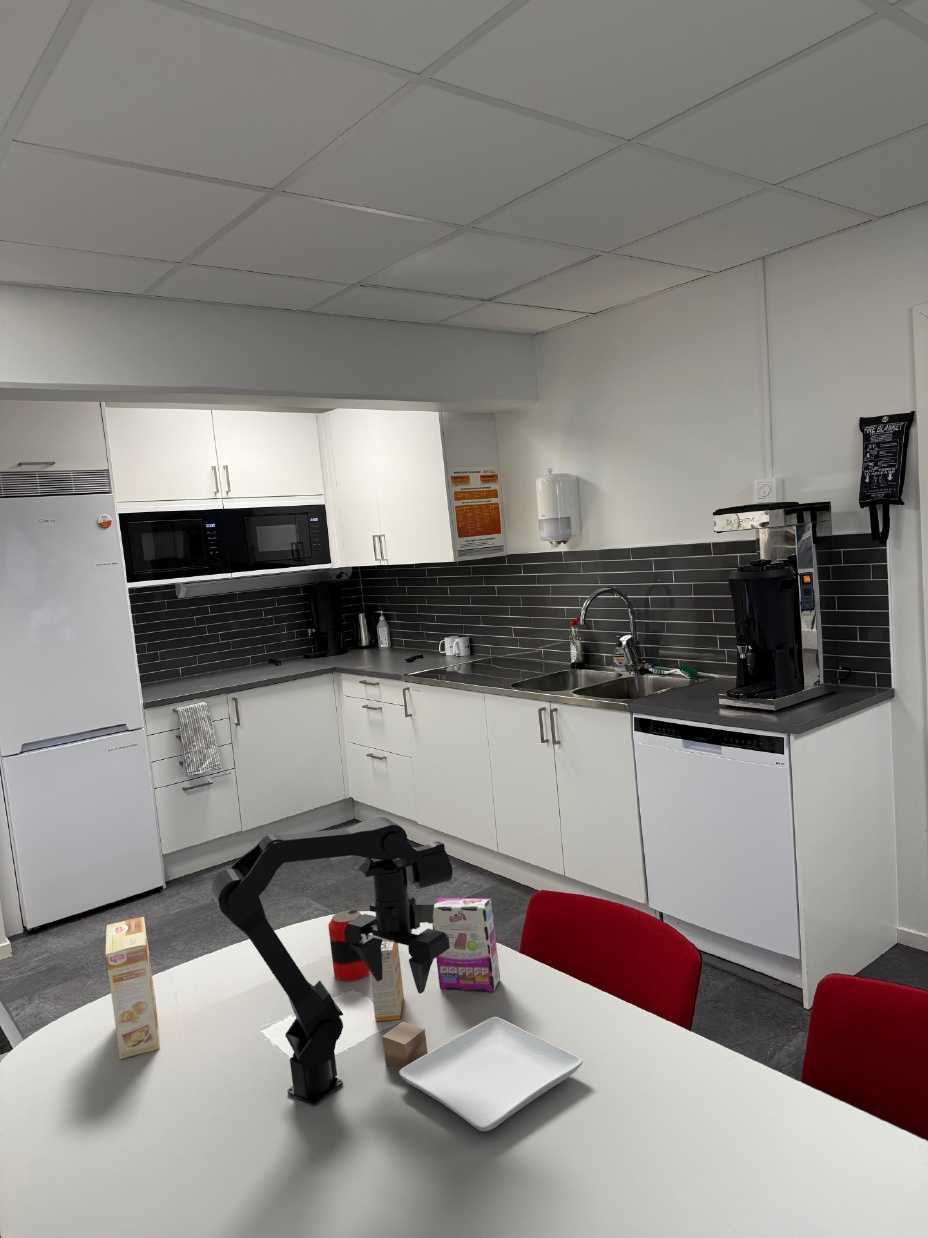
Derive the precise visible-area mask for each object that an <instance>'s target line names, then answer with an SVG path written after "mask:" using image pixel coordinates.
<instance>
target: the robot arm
mask: <svg viewBox="0 0 928 1238" xmlns="http://www.w3.org/2000/svg"><path fill="white" fill-rule="evenodd" d="M349 856H353V857H361V858H366V859H365V861H364V862H363V863H362V864H361V865H360V866H359V867H358V871H359V872H360V873H361V874H362V875H363V876H364V877H365V878H369V877H371V878H372V879H371V881H372V889H373V890H372V891H373V899H374V900H373V901H374V902H373V903H371V904H369V911H370V912H372V913H373V912H374V913H375V915H371V914H366V913H363V914H361V916H360V917H358V918H356V919H354V920H352V921H351V922H349V923H347V925H346V927H345V929H344V937H345V941H346V942H350V945H351V947H353V948H354V949H355V950H356V951H357V953H358V954H359V955H360V957H361V958H362V960H363V961H364V962H365V964H366V965H367V967H368V969H369V970H370V972H371V973H372V975H373V976H374V978H375V979H376V981H378V982H379V981H381V980H382V974H383V969H382V954H381V944H382V941H383V940H386V941H390V942H396V943H398V944H401V945H403V946H408V954H409V955H410V958H409V959H408V964H409V968H410V970H411V974H412V978H413V981H414V985H415V988H416V990H417V993H418V994H420V995H421V994H423V993H425V990H426V985H427V983H428V979H429V974H430V970H431V967H432V965H433V962H434V960H435V959H436V957H438V956H439V955H440V954H442V953H443V952H445V951H446V950H448V949H449V948H450V946H449V937H448V935H447V934H446V933H445V932H442V931H437V930H433V928H426V929H425V930H423V931H422V932H420V933H418V934H417V933H412V932H413V930H418V929H420V928H421V923H422V924H423V923H425V924H426V923H428V924H432V921H433V912H434V903H430V902H428V901H427V902H425V901H421V900H416V899H415V897H414V896H411V895H410V894H409V885H414V886H415V888H416V889H418V890H420V889H425V888H428V887H432V886H436V885H439V884H443V883H447V882H450V881H451V880H452V878H453V865H452V864H451V861H450V857H449V855H448V853H447V851H446V847H445V844H444V843H443V842H441V841H439V840H436V841H434V842H430V843H429V844H426V845H425V844H424V845H421V846H418V847H414V846H413V845H411V844H410V843H409V841H408V834H407V832H406V830H405V829H404V828H403V827H402V826H400V825H399V824H397V823H396V822H394V821H393V820H391V819H390V818H388V817H385V816H379V817H378V816H377V817H374V818H370V819H367V820H363V821H360V822H358V823H356V824H354V825H352V826H349V827H346V828H338V829H336V828H335V829H328V830H325V829H324V830H316V831H305V832H295V833H294V832H293V833H285V834H276V833H270V834H267V835H265V836H264V837H262V838H261V839H260V840H259V841H258V843H256V845H255V846H254V847H253V848H251V849H250V850H247V852H246V853H245V854H242V856H241V857H239V858H238V859H237V860H236V861H235V862H234V863H233V864H232V865H231V866H230V867H229V868H228V869H225V870H223V871H221V872H219V873H218V874H217V876H215V877H214V880H213V881H212V884H211V885H212V886H211V889H210V891H211V895H212V897H213V899H214V900H215V903H216V905H217V906H218V908H219V910H220V911H221V914H223V915H224V916H225V917H226V919H228V920H229V921H230V922H231V923H232V924H233V925H234V926H235V927H236V928H237V929H239V930H240V931H241V932H242V933H243V934H245V935H246V936H247V937H248V939H249V940H250V941H251V943H252V945H253V946H254V947H255V949H256V950H257V952H258V953H259V955H260V956H261V958H262V959H263V961H264V962H265V964H266V965H267V967H268V968H269V969H270V971H271V973H272V974H273V976H274V977H275V979H276V981H277V982H278V984H279V985H280V986H281V987H282V990H283V991H284V992H285V994H286V996H287V997H288V1000H289V1002H290V1006H291V1008H292V1011H293V1013H294V1016H295V1019H294V1020H293V1022H292V1024H291V1025H290V1026H289V1028H288V1029H287V1030H286V1032H285V1035H284V1036H285V1038H286V1040H287V1042H288V1044H289V1045H290V1047H291V1049H292V1051H293V1054H292V1057H290V1058H289V1065H290V1072H291V1073H290V1074H291V1080H292V1081H291V1082H292V1086H291V1087H290V1088H288V1089H287V1094H288V1095H290V1097H294V1098H296V1099H298V1100H301V1101H302V1102H305V1103H306V1104H309V1105H311V1106H316V1105H317V1104H318V1103H320V1102H322V1100H324V1099H326V1098H327V1097H328V1096H329V1095H330V1094H332V1093H333V1092H335V1091H336V1090H337V1089H338V1088H340V1087H341V1086H343V1084H344V1081H343V1079H340V1078H339V1077H337V1076H338V1071H337V1062H336V1053H335V1049H336V1044H337V1041H338V1040H339V1039H340V1037H341V1035H342V1032H343V1029H344V1023H343V1020H342V1018H341V1017H342V1016H343V1015H344V1013H343V1011H342V1010H341V1009H340V1006H338V1004H337V1003H336V1002H335V1000H334V999H333V997H332V995H331V993H330V992H329V991H328V990H327V988H326V986H325V985H324V984H323V982H322V981H321V980H318V981H317V982H316V983H315V984H314V985H312V983H310V982H309V981H308V980H307V979H306V977H305V976H304V974H303V972H302V971H301V969H300V968H299V967H298V965H297V963H296V962H295V961H294V958H292V956H291V954H290V953H289V952H288V950H287V948H286V947H285V946H284V944H283V942H282V941H281V939H280V938H279V936H278V934H277V933H276V931H274V928H273V927H272V926H271V924H270V922H269V921H268V918H267V916H266V913H265V909H264V907H263V903H262V901H261V899H260V895H262V893H263V892H264V891H266V889H267V887H268V886H269V884H270V883H271V881H272V880H273V878H274V876H275V874H277V873H276V872H277V871H278V870H279V869H280V868H281V867H282V865H283V864H286V863H287V864H288V863H294V862H295V863H296V862H304V861H305V862H306V861H312V860H322V859H332V858H341V857H349ZM408 883H409V884H408ZM370 972H369V973H370Z"/></svg>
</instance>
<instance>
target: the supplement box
mask: <svg viewBox="0 0 928 1238" xmlns="http://www.w3.org/2000/svg"><path fill="white" fill-rule="evenodd" d="M381 954H382V969H383V974H382V980H381V981H379V982H378V981H376V979H375V978H374V976H373V975H372V973H371V972H369V977H370V986H371V994H372V1003H373V1012H374V1021H375V1022H382V1021H393V1020H400V1019H401V1014H402V1006H403V1001H404V986H403V985H404V984H403V978H402V968H401V959H400V951H399V943H396V942H390V941H386V940H383V941H382V944H381Z"/></svg>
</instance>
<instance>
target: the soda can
mask: <svg viewBox="0 0 928 1238" xmlns="http://www.w3.org/2000/svg"><path fill="white" fill-rule="evenodd" d="M361 915H362V913H360V911H359V910H354V909H350V910H349V909H348V910H347V909H346V910H343V911H339V912H337V913H335V914H333V916H332V918H331V919H330V921H329V923H328V926H327V927H328V935H329V943H330V951H331V959H332V960H331V961H332V968H333V976H334V977H335V978H336V979H337V980H339V981H341V982H352V981H353V982H354V981H357V980H361V979H363V978H366V977H367V976H368V975H369V974H370V970H369V969H368V967H367V965H366V964H365V962H364V961H363V960H362V958H361V957H360V955H359V954H358V953H357V951H356V950H355V949H354V948H353V947H351V945H350V942H346V941H345V937H344V929H345V927H346V925H347V923H349V922H351V921H352V920H354V919H356V918H358V917H360V916H361Z"/></svg>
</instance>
